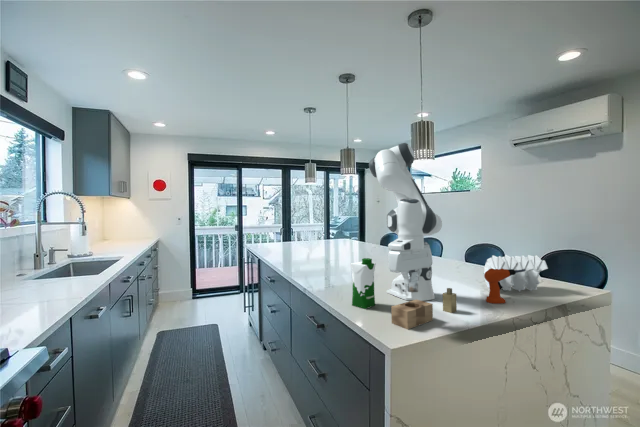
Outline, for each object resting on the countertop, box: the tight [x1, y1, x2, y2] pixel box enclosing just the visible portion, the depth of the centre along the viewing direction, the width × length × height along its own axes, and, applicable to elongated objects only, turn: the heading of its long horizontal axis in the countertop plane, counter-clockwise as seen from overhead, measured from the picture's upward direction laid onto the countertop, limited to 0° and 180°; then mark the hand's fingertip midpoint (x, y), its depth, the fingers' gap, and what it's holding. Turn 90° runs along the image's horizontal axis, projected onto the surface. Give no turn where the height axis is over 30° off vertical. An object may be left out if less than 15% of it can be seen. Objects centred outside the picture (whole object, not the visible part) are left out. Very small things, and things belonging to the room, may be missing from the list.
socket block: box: [390, 299, 434, 330], centre depth 107 cm, size 7×14×6 cm, turn 125°
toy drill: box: [483, 268, 525, 304], centre depth 129 cm, size 5×19×15 cm, turn 93°
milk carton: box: [350, 257, 376, 310], centre depth 127 cm, size 9×9×20 cm
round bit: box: [407, 270, 418, 292], centre depth 107 cm, size 4×4×9 cm
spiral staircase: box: [483, 254, 549, 293], centre depth 146 cm, size 18×18×25 cm
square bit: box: [442, 287, 458, 314], centre depth 118 cm, size 4×4×9 cm
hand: (411, 282), depth 107 cm, fingers closed on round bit, 4 cm apart
